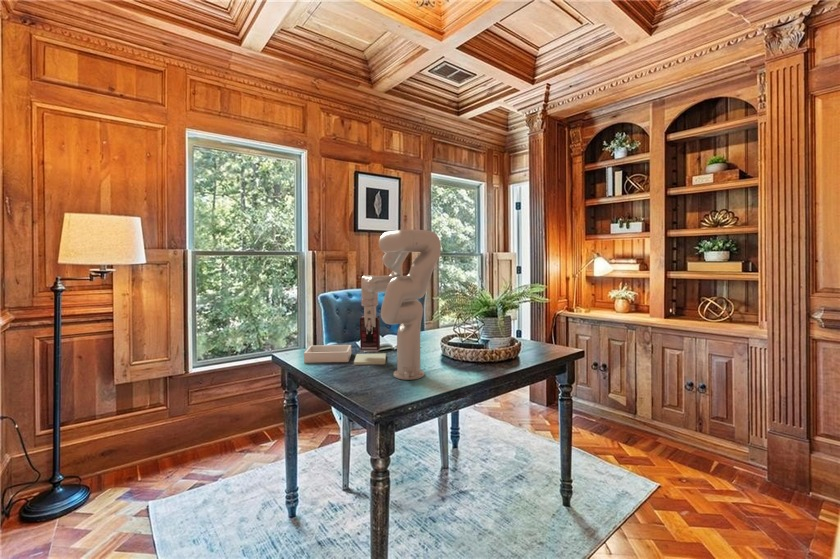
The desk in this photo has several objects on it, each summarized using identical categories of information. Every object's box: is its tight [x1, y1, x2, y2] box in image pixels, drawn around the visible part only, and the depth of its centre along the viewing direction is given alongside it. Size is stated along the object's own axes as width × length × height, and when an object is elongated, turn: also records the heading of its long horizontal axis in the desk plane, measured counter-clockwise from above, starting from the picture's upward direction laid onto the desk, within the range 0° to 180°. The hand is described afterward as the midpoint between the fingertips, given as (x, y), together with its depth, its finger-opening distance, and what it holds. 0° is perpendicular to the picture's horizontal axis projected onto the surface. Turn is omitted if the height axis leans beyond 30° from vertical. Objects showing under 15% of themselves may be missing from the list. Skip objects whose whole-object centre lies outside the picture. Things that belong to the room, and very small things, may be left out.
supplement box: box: [359, 315, 381, 353], centre depth 189 cm, size 9×5×16 cm, turn 84°
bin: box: [303, 344, 352, 364], centre depth 193 cm, size 14×20×4 cm
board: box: [353, 352, 387, 366], centre depth 190 cm, size 14×14×1 cm
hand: (370, 340), depth 189 cm, fingers closed on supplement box, 5 cm apart
